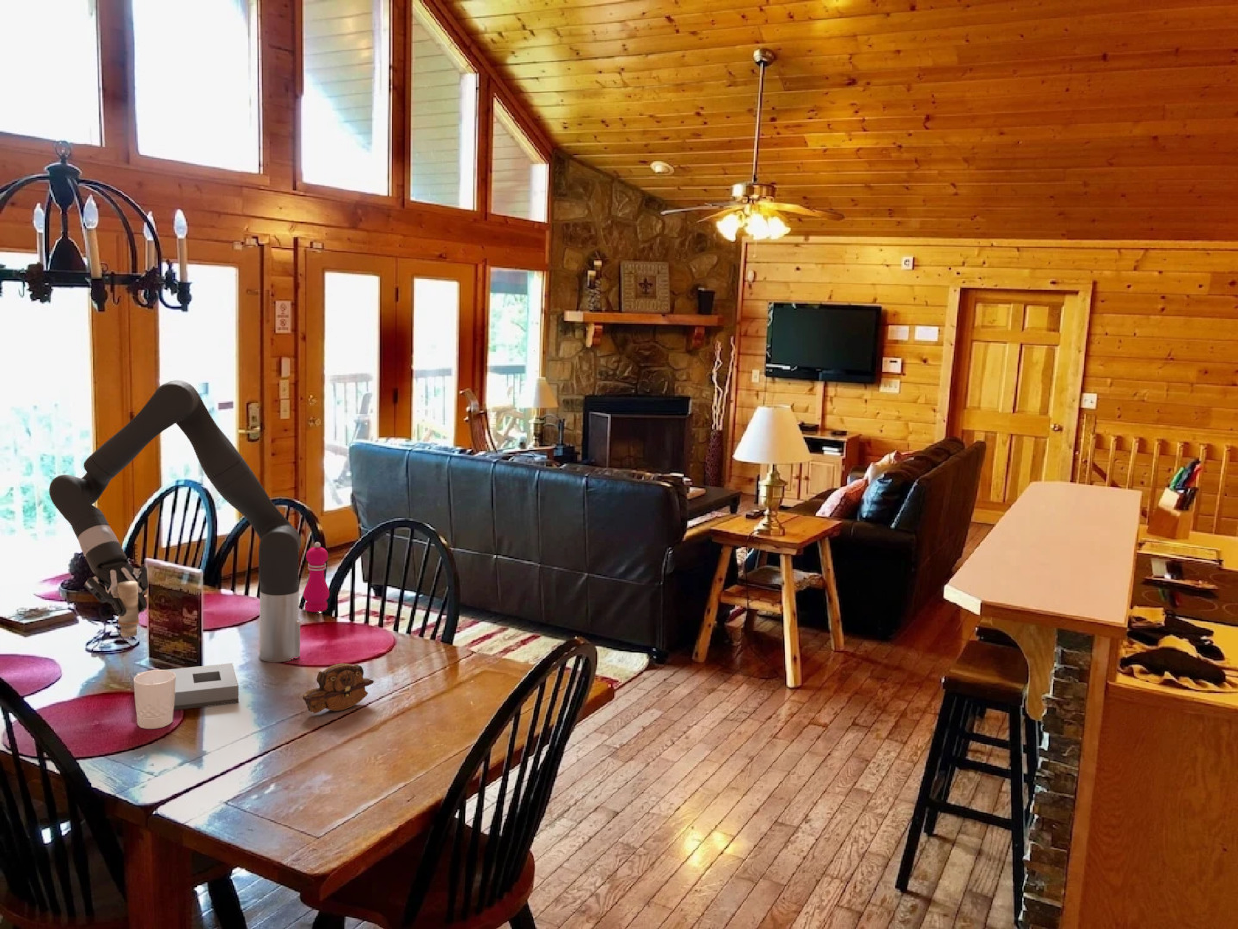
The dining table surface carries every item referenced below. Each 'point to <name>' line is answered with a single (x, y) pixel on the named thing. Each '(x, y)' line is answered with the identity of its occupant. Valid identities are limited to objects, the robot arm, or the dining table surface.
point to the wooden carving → (337, 688)
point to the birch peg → (129, 608)
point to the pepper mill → (316, 580)
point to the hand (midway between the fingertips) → (133, 611)
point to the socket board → (205, 686)
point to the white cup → (154, 698)
